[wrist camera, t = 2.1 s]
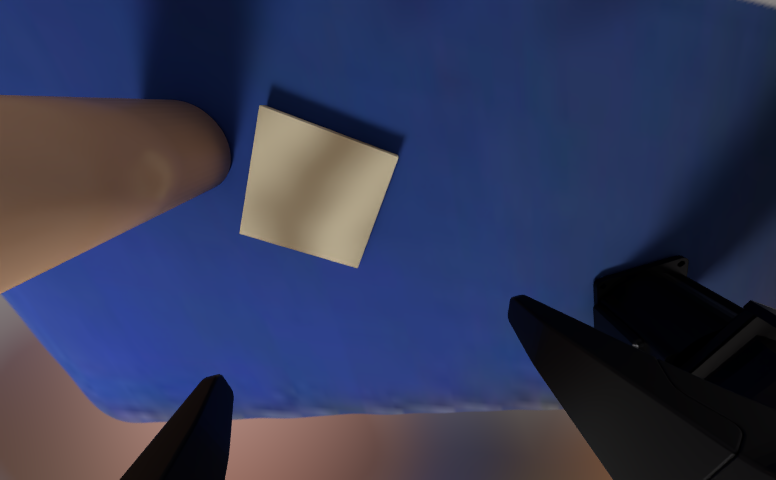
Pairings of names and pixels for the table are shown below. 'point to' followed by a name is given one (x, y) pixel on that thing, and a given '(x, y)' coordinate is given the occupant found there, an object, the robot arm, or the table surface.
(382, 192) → the coaster
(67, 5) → the table surface
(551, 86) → the table surface
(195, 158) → the tan rounded cylinder
